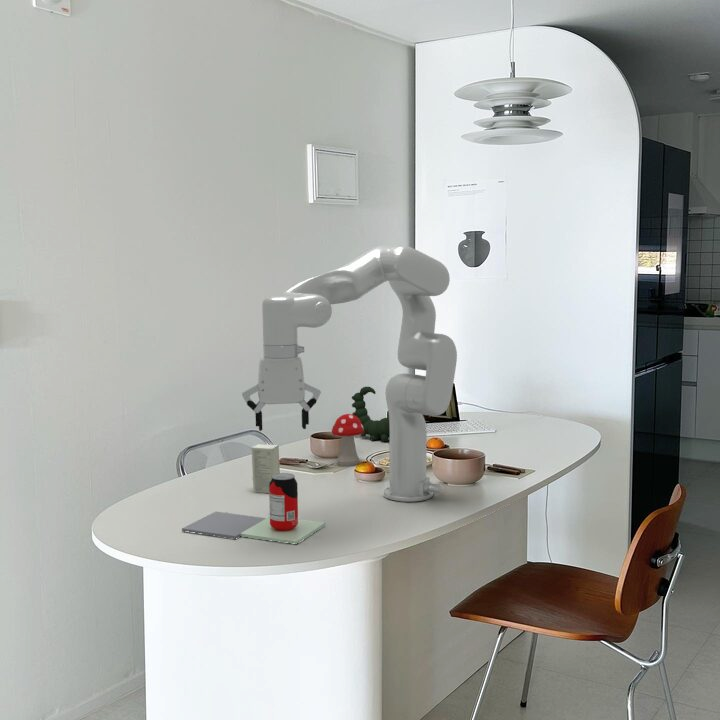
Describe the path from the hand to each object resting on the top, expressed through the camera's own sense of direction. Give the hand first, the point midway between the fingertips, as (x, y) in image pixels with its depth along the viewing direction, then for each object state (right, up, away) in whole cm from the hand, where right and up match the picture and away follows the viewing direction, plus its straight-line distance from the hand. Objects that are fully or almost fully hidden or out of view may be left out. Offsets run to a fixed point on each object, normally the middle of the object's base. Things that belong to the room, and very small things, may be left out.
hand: (282, 428), depth 194 cm
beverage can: (0, -23, +3) cm, 23 cm away
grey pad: (-14, -23, +6) cm, 28 cm away
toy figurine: (+26, -12, +96) cm, 101 cm away
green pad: (0, -23, +3) cm, 24 cm away
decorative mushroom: (+14, -16, +65) cm, 68 cm away
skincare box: (-7, -20, +36) cm, 42 cm away
